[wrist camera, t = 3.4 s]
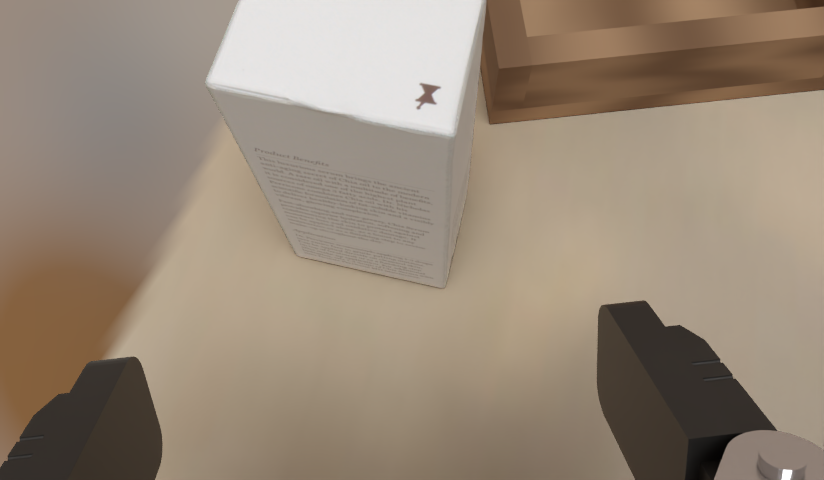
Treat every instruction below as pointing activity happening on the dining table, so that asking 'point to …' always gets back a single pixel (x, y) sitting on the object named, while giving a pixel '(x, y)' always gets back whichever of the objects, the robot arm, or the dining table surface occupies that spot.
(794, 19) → the tray
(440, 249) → the skincare box
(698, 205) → the dining table surface
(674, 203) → the dining table surface
